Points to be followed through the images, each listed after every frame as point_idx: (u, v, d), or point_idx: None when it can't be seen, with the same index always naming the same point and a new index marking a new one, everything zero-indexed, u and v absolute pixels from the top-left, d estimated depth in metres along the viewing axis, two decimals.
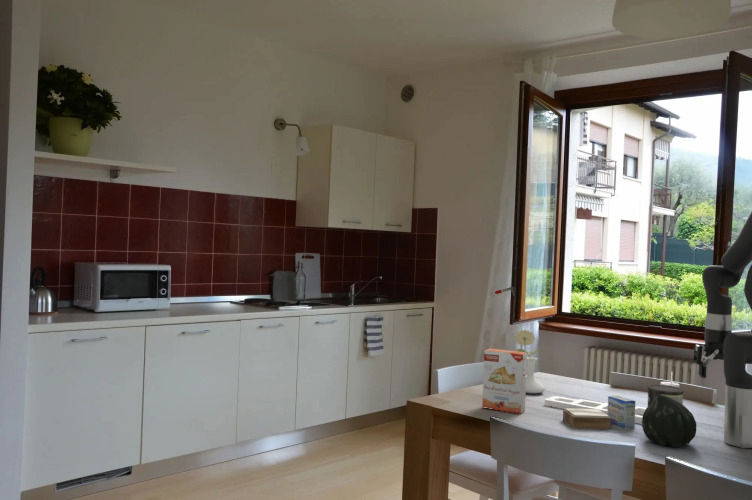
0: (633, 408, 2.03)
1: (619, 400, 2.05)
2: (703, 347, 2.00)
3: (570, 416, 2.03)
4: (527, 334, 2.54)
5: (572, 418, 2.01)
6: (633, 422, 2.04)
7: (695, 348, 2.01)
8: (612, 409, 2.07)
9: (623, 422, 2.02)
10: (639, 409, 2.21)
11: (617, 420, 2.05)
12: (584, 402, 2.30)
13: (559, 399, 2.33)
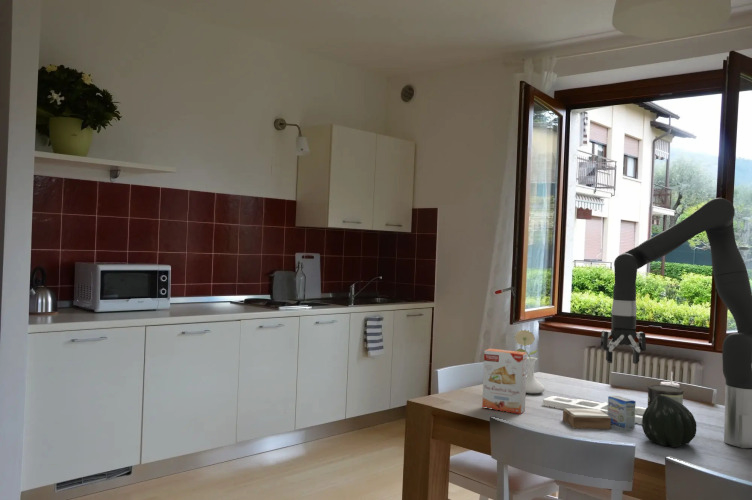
0: (633, 408, 2.03)
1: (619, 400, 2.05)
2: (609, 333, 2.06)
3: (570, 416, 2.03)
4: (527, 334, 2.54)
5: (572, 418, 2.01)
6: (633, 422, 2.04)
7: (602, 334, 2.07)
8: (612, 409, 2.07)
9: (623, 422, 2.02)
10: (637, 409, 2.21)
11: (617, 420, 2.05)
12: (582, 402, 2.30)
13: (557, 399, 2.33)
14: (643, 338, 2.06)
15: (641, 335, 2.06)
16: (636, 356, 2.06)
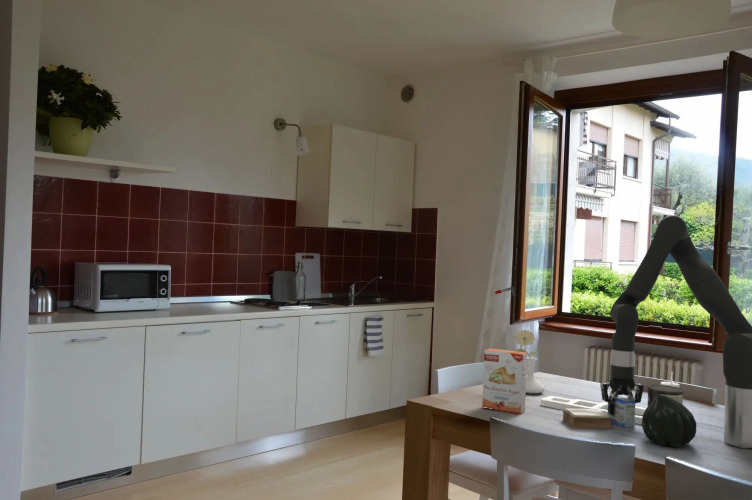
0: (633, 408, 2.03)
1: (619, 400, 2.05)
2: (608, 384, 2.06)
3: (570, 416, 2.03)
4: (527, 334, 2.54)
5: (572, 418, 2.01)
6: (633, 422, 2.04)
7: (601, 386, 2.07)
8: None
9: (623, 421, 2.02)
10: (635, 409, 2.21)
11: (617, 420, 2.05)
12: (580, 402, 2.29)
13: (555, 399, 2.33)
14: (640, 390, 2.06)
15: (639, 387, 2.06)
16: None
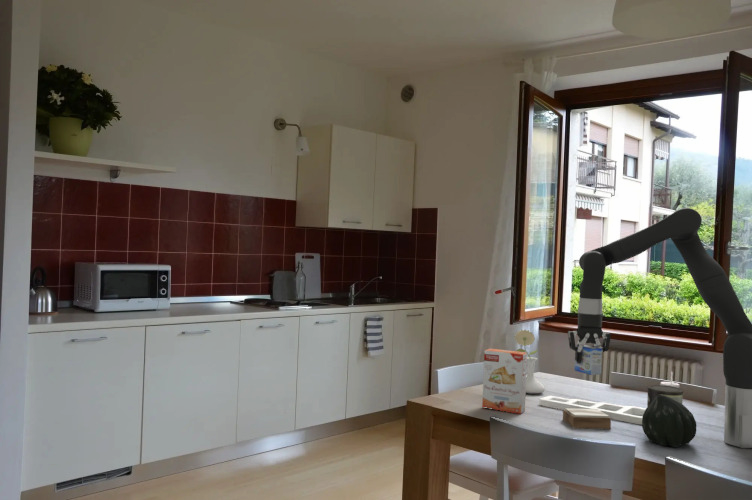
0: (599, 356, 2.03)
1: (586, 348, 2.04)
2: (575, 332, 2.05)
3: (570, 416, 2.03)
4: (527, 334, 2.54)
5: (572, 418, 2.01)
6: (599, 370, 2.03)
7: (568, 335, 2.06)
8: None
9: (589, 369, 2.02)
10: (633, 408, 2.22)
11: (583, 368, 2.04)
12: (579, 402, 2.30)
13: (554, 399, 2.34)
14: (608, 339, 2.05)
15: (607, 335, 2.05)
16: None
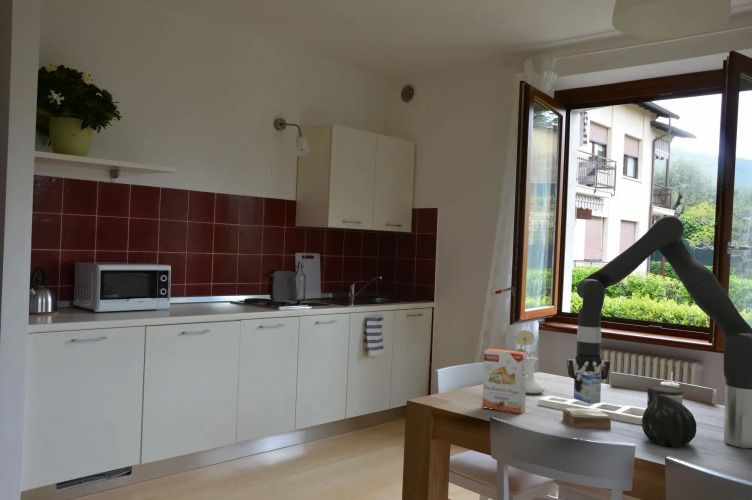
0: (599, 384, 2.02)
1: (585, 376, 2.03)
2: (574, 360, 2.04)
3: (570, 416, 2.03)
4: (527, 334, 2.54)
5: (572, 418, 2.01)
6: (599, 398, 2.02)
7: (567, 363, 2.05)
8: None
9: (589, 398, 2.01)
10: (632, 408, 2.22)
11: (583, 396, 2.04)
12: (577, 402, 2.30)
13: (553, 399, 2.34)
14: (607, 367, 2.04)
15: (605, 363, 2.05)
16: None
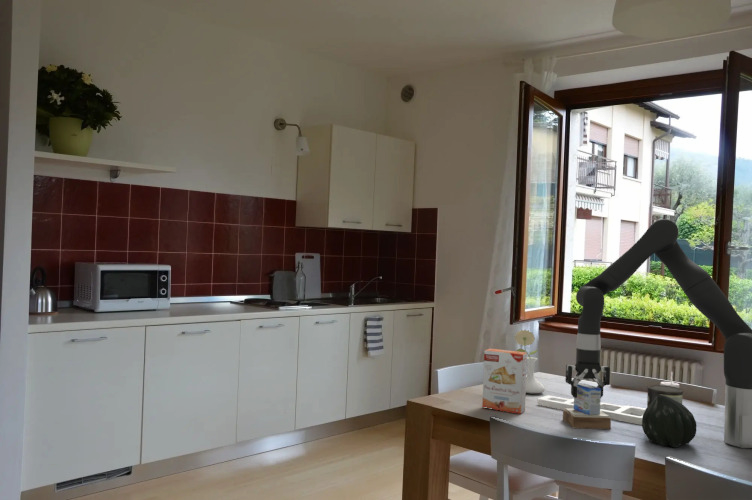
0: (598, 395, 2.02)
1: (584, 387, 2.03)
2: (573, 367, 2.04)
3: (570, 416, 2.03)
4: (527, 334, 2.54)
5: (572, 418, 2.01)
6: (598, 409, 2.02)
7: (566, 368, 2.05)
8: (578, 397, 2.06)
9: (588, 409, 2.01)
10: (631, 408, 2.22)
11: (582, 407, 2.03)
12: None
13: (552, 398, 2.34)
14: (607, 372, 2.04)
15: (605, 369, 2.04)
16: None
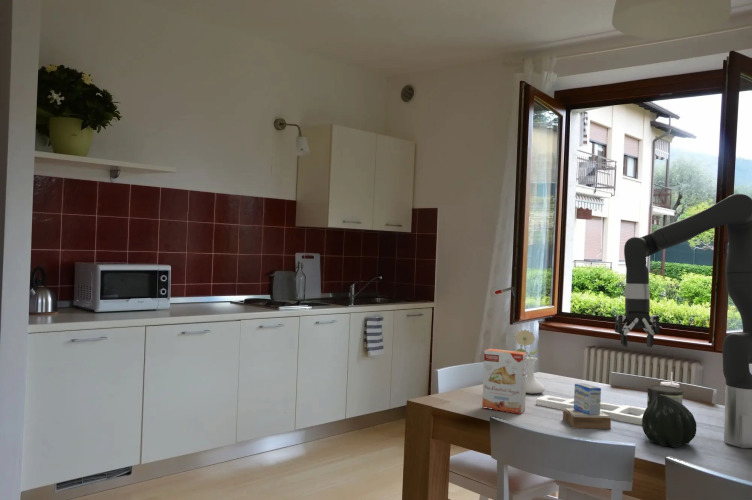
0: (598, 395, 2.02)
1: (584, 387, 2.03)
2: (623, 316, 2.06)
3: (570, 416, 2.03)
4: (527, 334, 2.54)
5: (572, 418, 2.01)
6: (598, 409, 2.02)
7: (616, 318, 2.07)
8: (578, 397, 2.06)
9: (588, 409, 2.01)
10: (630, 408, 2.22)
11: (582, 407, 2.03)
12: None
13: (551, 398, 2.34)
14: (657, 321, 2.07)
15: (655, 318, 2.07)
16: (650, 339, 2.06)
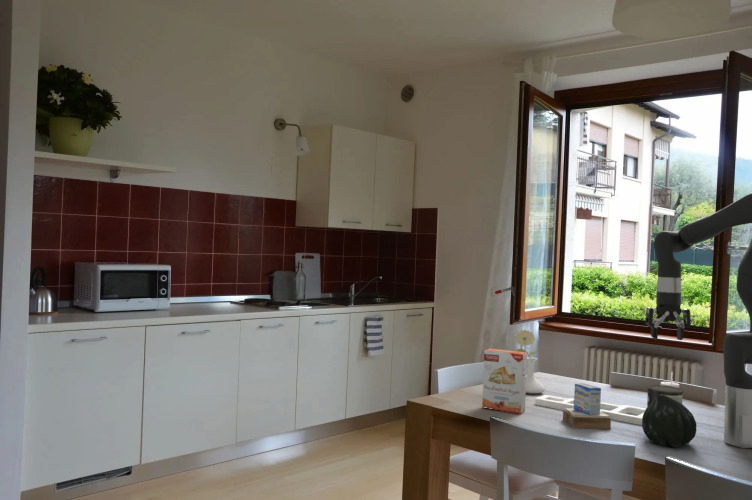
0: (598, 395, 2.02)
1: (584, 387, 2.03)
2: (654, 309, 2.09)
3: (570, 416, 2.03)
4: (527, 334, 2.54)
5: (572, 418, 2.01)
6: (598, 409, 2.02)
7: (647, 311, 2.10)
8: (578, 397, 2.06)
9: (588, 409, 2.01)
10: (629, 408, 2.22)
11: (582, 407, 2.03)
12: None
13: (549, 398, 2.34)
14: (688, 315, 2.09)
15: (686, 312, 2.09)
16: (681, 332, 2.09)
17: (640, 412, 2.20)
